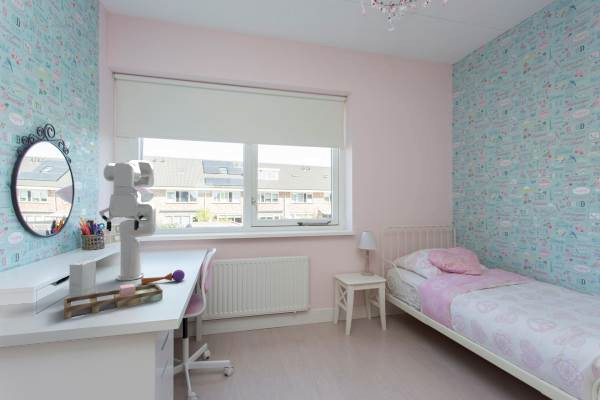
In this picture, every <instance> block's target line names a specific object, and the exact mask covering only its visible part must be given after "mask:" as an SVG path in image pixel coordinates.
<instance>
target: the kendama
mask: <svg viewBox="0 0 600 400" xmlns="http://www.w3.org/2000/svg"><path fill="white" fill-rule="evenodd" d="M184 279H185V272H184V270H182V269H176V270H175V271H174V272H170V273H169V274H167V275H165V276H158V277H157V276H156V277H142V278H140V280H141V282H140V284H141V286H143V285H149V284H152V283H155V282H159V281H161V280H167V281H171V282H172V281H174V282H182V281H183V280H184Z"/></svg>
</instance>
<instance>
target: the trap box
mask: <svg viewBox="0 0 600 400" xmlns="http://www.w3.org/2000/svg"><path fill="white" fill-rule="evenodd" d="M119 291H120V288H119V289H114V290H109V291H102V292H95V293H92V294H89V295H83V296H77V297H71V298H69V297H66V298H64V299H63V300H64V301H63V320H66V319H67V320H68V319H71V318H73V317H79V316H83V315H88V314H96V313H100V312H103V311H108V310H112V309H120V308H127V307H131V306H135V305H141V304H147V303H150V302H156V301H161V300H163V289H162V288H161V286H159V284H157V283H155V282H154V283H148V284H144V285H139V286H136V288H135V294H134V295H128V296H123V297H120V295H119ZM108 296H113V298H107V299H103V300H101V299H100V300H98V298H101V297H108ZM83 300H89V301H90V302H86V303H80V304H74V305H72V302H78V301H83Z"/></svg>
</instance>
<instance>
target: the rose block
mask: <svg viewBox="0 0 600 400" xmlns="http://www.w3.org/2000/svg"><path fill="white" fill-rule="evenodd" d="M136 287H137V286H136V285H135V284H134V283H129V284H121V285H119V289H120V291H119V295H120V297H123V296H128V295H134V294H135V288H136Z"/></svg>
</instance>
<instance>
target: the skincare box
mask: <svg viewBox="0 0 600 400" xmlns="http://www.w3.org/2000/svg"><path fill="white" fill-rule="evenodd" d="M68 274H69V277H68V279H69V280H68V283H69V285H68V286H69V288H68V289H69V290H68V298H71V297H77V296H83V295H89V294H95V293H97V292H96V286H97V285H96V284H97V283H96V282H97V260H90V259H89V260H87V259H83V260H80V261H78V262H74V263H70V264H69V273H68Z"/></svg>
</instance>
